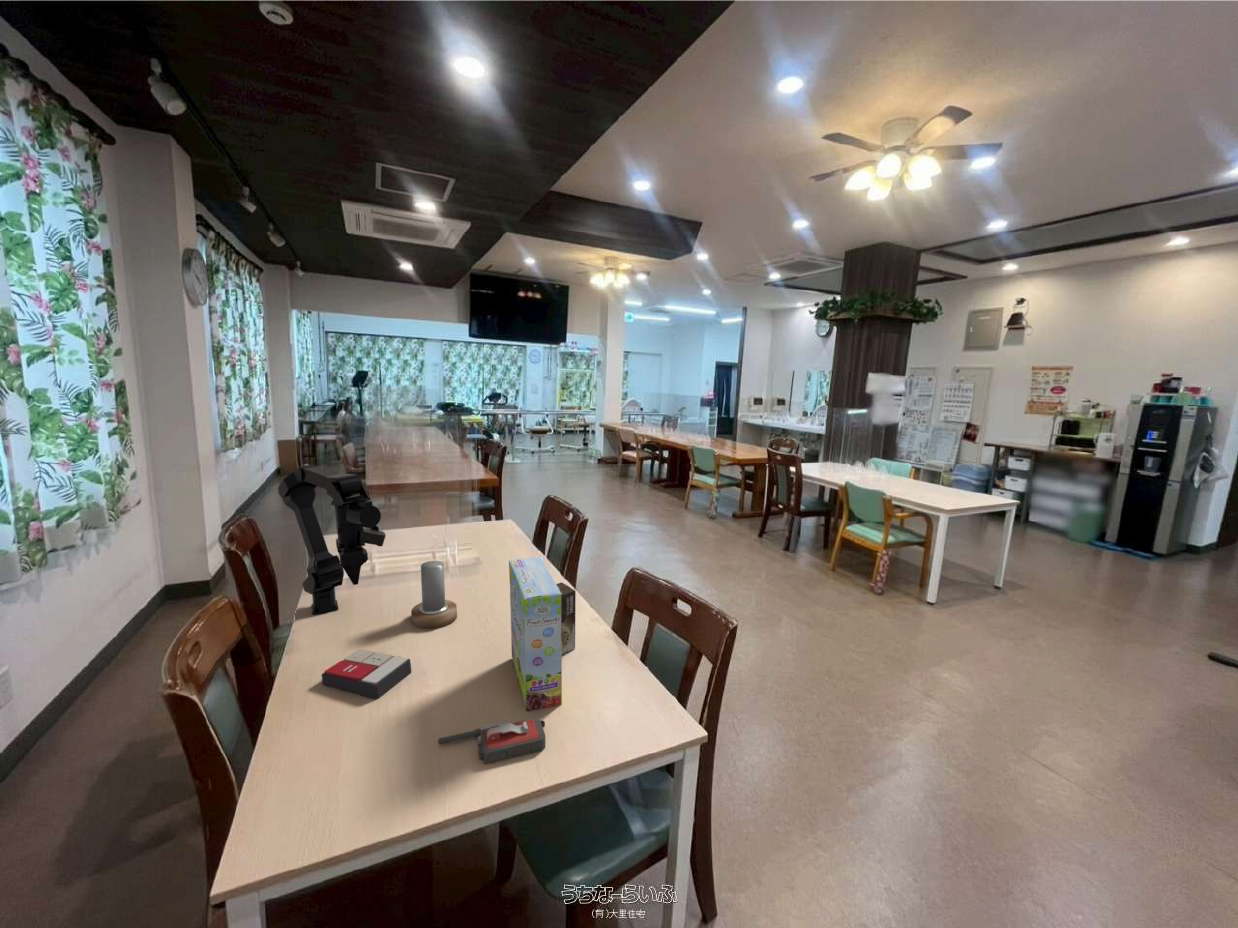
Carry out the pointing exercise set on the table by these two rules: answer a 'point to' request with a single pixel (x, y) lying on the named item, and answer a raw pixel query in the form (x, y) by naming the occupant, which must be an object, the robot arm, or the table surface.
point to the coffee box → (567, 617)
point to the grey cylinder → (433, 588)
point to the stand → (434, 617)
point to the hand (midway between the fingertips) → (354, 579)
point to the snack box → (536, 632)
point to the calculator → (367, 673)
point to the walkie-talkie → (505, 739)
